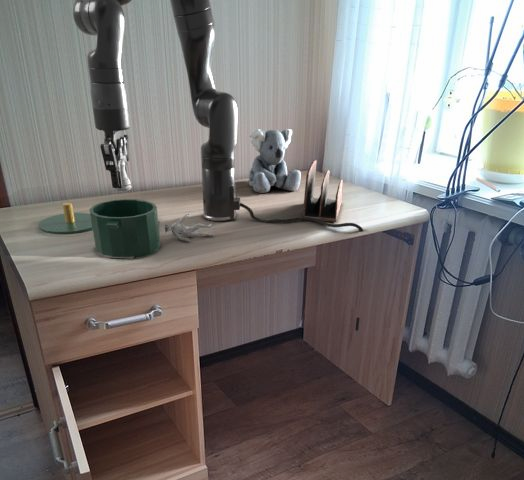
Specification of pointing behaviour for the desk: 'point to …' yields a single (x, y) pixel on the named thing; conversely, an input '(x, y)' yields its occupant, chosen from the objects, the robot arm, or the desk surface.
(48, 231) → the lid
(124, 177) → the rook chess piece
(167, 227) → the soldier figure
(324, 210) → the letter holder
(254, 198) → the desk surface
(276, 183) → the koala plush
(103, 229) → the pot
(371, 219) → the desk surface
